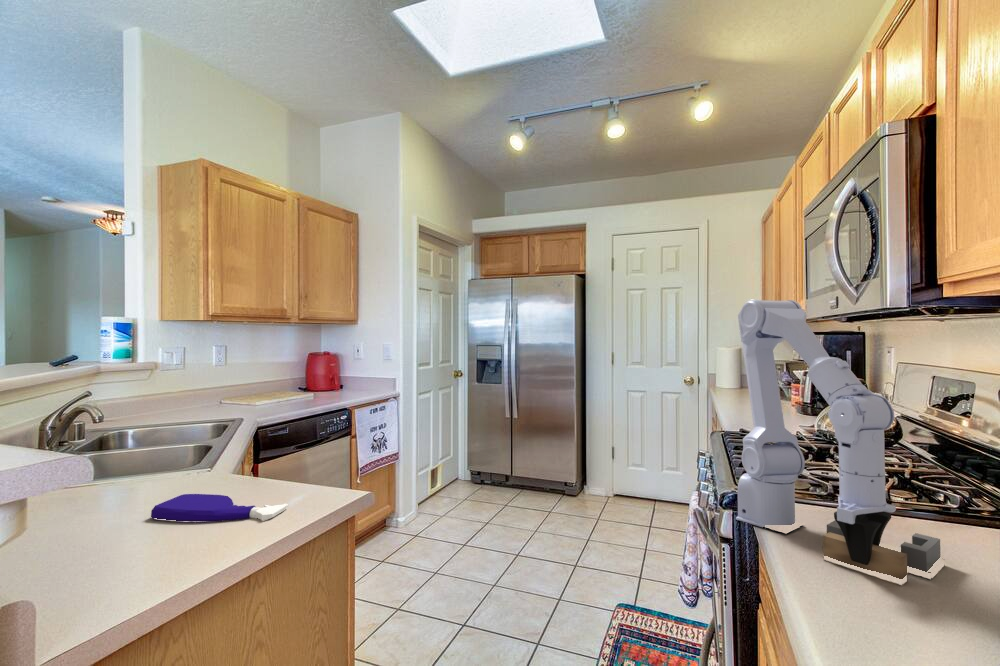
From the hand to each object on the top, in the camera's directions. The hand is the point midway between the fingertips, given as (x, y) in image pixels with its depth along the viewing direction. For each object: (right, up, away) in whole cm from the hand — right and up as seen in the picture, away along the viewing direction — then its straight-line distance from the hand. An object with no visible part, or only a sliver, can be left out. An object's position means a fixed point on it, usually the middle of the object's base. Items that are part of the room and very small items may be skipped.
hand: (863, 559), depth 73 cm
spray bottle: (-114, -3, +24) cm, 117 cm away
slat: (0, -2, 0) cm, 2 cm away
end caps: (+7, -2, +5) cm, 9 cm away
